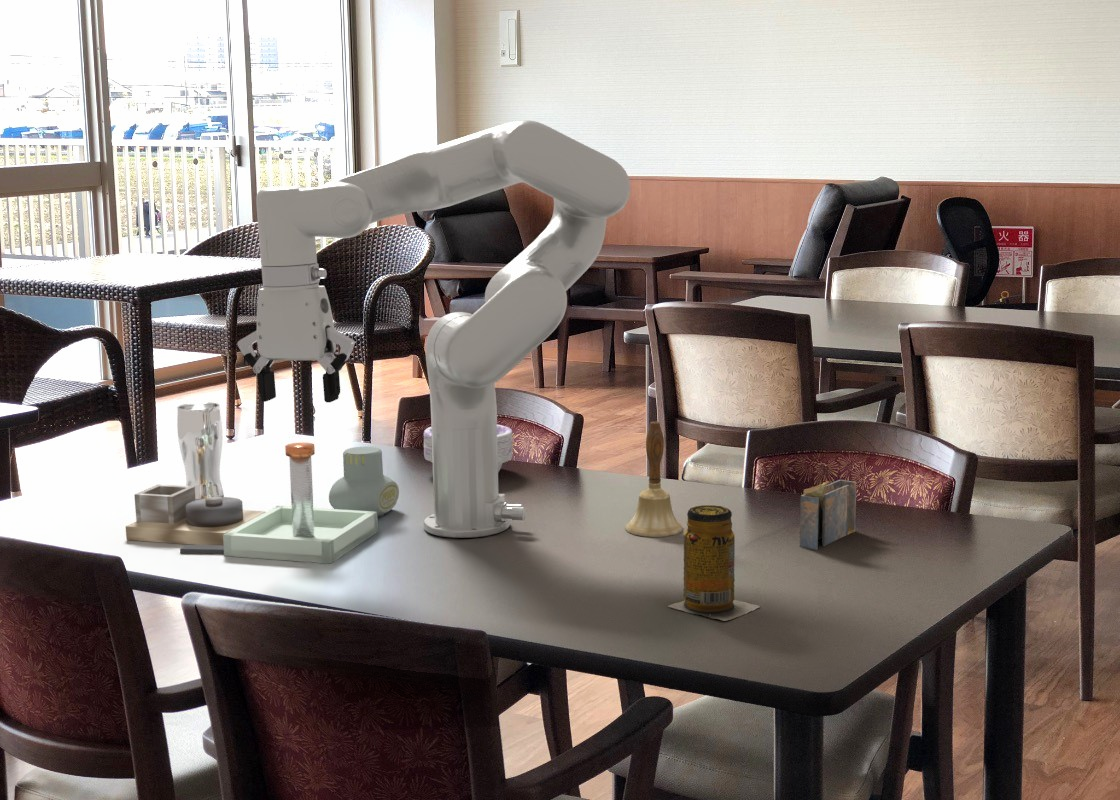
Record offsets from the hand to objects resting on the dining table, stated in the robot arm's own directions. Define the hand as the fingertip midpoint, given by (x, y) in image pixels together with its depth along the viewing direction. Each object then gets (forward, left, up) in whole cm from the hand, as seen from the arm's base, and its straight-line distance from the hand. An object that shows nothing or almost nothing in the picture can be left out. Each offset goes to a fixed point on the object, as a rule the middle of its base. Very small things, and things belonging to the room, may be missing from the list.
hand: (300, 400), depth 188 cm
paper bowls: (-9, -45, -21) cm, 50 cm away
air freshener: (-2, -17, -21) cm, 27 cm away
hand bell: (-47, -18, -21) cm, 54 cm away
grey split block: (-71, -18, -21) cm, 77 cm away
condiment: (-61, +14, -21) cm, 66 cm away
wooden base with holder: (+18, -2, -21) cm, 28 cm away
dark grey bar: (+8, +6, -21) cm, 23 cm away
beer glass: (+28, -21, -21) cm, 41 cm away
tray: (0, 0, -21) cm, 21 cm away
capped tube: (0, 0, -20) cm, 20 cm away
